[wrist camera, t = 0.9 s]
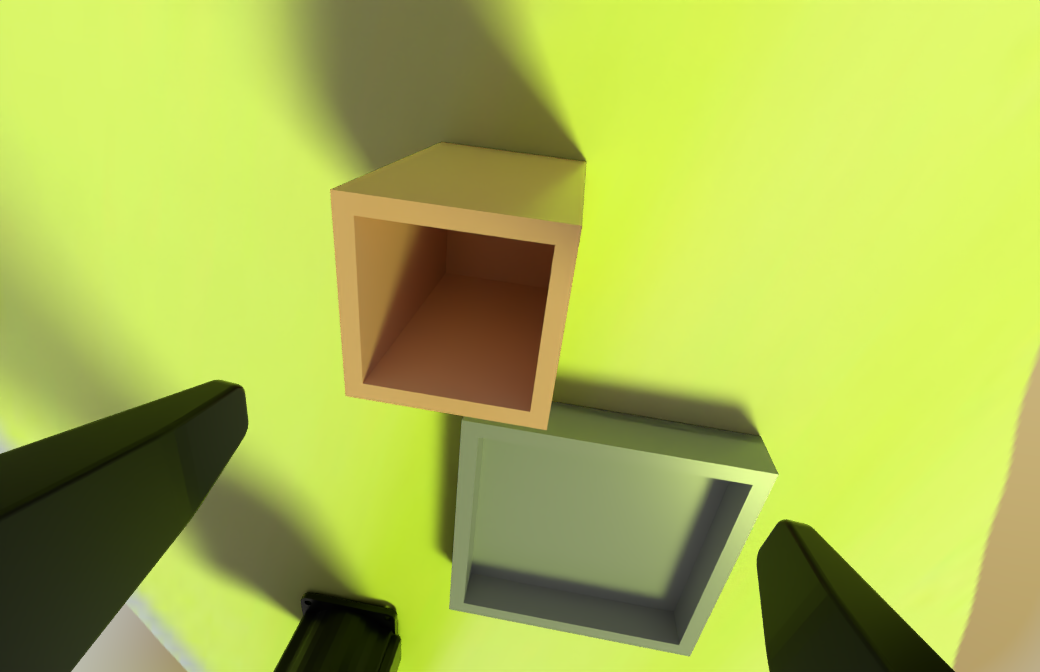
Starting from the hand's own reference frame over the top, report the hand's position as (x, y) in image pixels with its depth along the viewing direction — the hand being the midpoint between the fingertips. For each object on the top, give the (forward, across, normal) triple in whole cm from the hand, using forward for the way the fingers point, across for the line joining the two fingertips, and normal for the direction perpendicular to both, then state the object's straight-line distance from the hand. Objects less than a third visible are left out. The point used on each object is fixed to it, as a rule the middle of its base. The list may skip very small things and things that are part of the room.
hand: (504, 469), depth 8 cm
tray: (+13, -5, +15) cm, 20 cm away
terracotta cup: (+13, +2, 0) cm, 13 cm away
